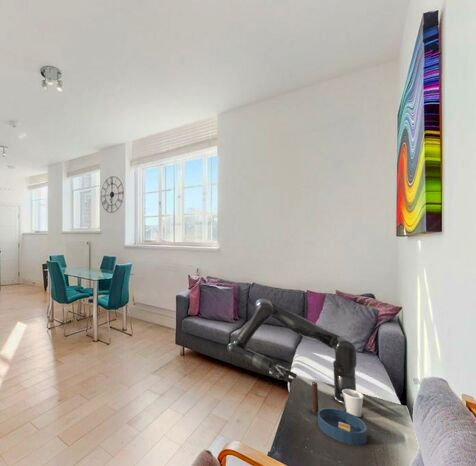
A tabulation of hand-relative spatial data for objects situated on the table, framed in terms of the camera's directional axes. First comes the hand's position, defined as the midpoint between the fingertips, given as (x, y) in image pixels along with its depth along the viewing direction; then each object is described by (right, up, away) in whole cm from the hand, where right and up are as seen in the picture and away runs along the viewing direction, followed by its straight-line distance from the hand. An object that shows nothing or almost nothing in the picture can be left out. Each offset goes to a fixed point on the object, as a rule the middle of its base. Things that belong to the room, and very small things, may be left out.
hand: (293, 378), depth 146 cm
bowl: (+9, -13, -21) cm, 26 cm away
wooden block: (+8, -12, -24) cm, 28 cm away
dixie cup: (+25, -13, -9) cm, 29 cm away
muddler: (+7, -13, -7) cm, 17 cm away
